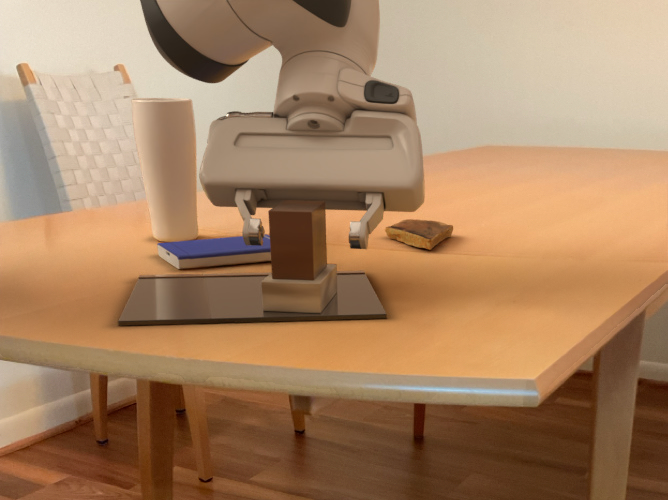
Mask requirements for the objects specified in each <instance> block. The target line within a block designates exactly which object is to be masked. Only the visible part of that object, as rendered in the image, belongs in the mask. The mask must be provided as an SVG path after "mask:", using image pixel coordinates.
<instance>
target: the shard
mask: <svg viewBox="0 0 668 500" xmlns="http://www.w3.org/2000/svg"><path fill="white" fill-rule="evenodd" d="M384 231H385V233H386V236H387V237H388V238H389V239H390V240H397V241H398V242H402V243H404V244H406V245H407V246H413V247H415V248H420V249H426V250H429V251H430V250H431V251H432V249H434V247H435V246H437V245H439V244H440V243H441V242H443V241H444V240H446V239H448V238H451V237H452V235H453V231H454V226H453V224H447V223H444V222H443V221H442V222H441V221H436V220H427V219H413V218H411V219H402V220H400V221H398V222H397V223H394V224H392V225H388V226H386V227H385V229H384Z"/></svg>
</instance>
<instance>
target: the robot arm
mask: <svg viewBox="0 0 668 500" xmlns="http://www.w3.org/2000/svg"><path fill="white" fill-rule="evenodd" d="M139 2H140V6H141V10H142V14H143V18H144V22H145V25H146V28H147V31H148V34H149V36H150V39H151V41H152V43H153V45H154V47H155V48H156V50H157V52H158V53H159V55H160V56H161V57H162V58H163V60H165V62H167V63H168V64H169V65H170V66H171V67H172V68H173V69H175V70H176V71H178V72H180V73H181V74H182V75H185V76H187V77H189V78H191V79H193V80H196V81H199V82H202V83H205V84H219V83H221V82H223V81H225V80H226V79H227V78H228V77H229V78H230V76H231V75H232V74H234V73H235V72H236V71H238V70H239V69H240V68H242V67H243V66H244V65H246V63H248V62H249V61H250V60H251V59H252V58H253V57H256V56H257V55H259V54H260V53H262V52H264V51H266V50H267V49H269V48H270V47H272V46H273V47H274V48H275V49H276V50H277V51H278V53H279V54H280V56H281V66H280V69H279V73H278V80H277V86H276V93H275V99H274V105H273V111H252V112H251V111H250V112H243V111H239V110H237V111H236V110H233V111H228V112H226V113H225V114H226V115H224V116H220V117H218V118H216V119H214V120H212V121H211V122H210V125H209V128H208V133H207V139H206V140H207V141H206V142H207V144H206V147H205V150H204V153H203V156H202V160H201V164H200V167H199V172H198V177H199V182H200V185H201V189H202V191H203V193H204V194H205V196H206V198H207V200H209V201H210V203H211V204H212V205H213V206H215V207H218V208H237V210H238V213H239V216H240V217H241V219H242V221H243V226H242V234H241V235H242V236H243V240H244V242H245V244H246V245H256V246H262V245H263V238H264V234H266V233H265V232H266V231H265V227H264V225H263V222H262V219H261V218H256V217H255V218H254V217H252V216H255V215H256V213H257V209H272V208H274V207H275V206H277V205H279V204H280V203H282V202H283V201H285V200H291V201H324V202H325V211H359V212H360V211H361V212H362V211H363V212H365V211H366V212H365V213H364V214H363V215H362V217H361V218H360V220H359V221H358V220H357V221H354V220H353V221H351V220H350V221H349V232H348V243H349V249H351V250H367V249H368V245H369V236H370V235H371V234H372V233H373V232H374V231H375V229H376V228H377V227H378V226H379V225H380V224H381V222H382V221H383V220H384V213H385V212H392V213H393V212H395V213H397V212H398V213H414V212H416V211H418V209H420V208H421V207H422V205H424V203H425V197H426V185H425V181H426V180H425V165H424V164H425V163H424V152H423V143H422V137H421V132H420V129H419V126H418V120H417V111H416V105H415V102H414V101H415V100H414V97H413V94H412V93H413V92H412V91H411V90H410V89H409V88H407V87H405V86H402V85H398V84H394V83H391V82H388V81H385V80H381V79H379V78H376V77H373V76H372V75H373V72H374V70H375V67H376V65H377V61H378V53H379V46H380V45H379V44H380V33H381V31H380V30H381V15H380V14H381V12H380V11H381V10H380V1H379V0H139Z"/></svg>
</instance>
